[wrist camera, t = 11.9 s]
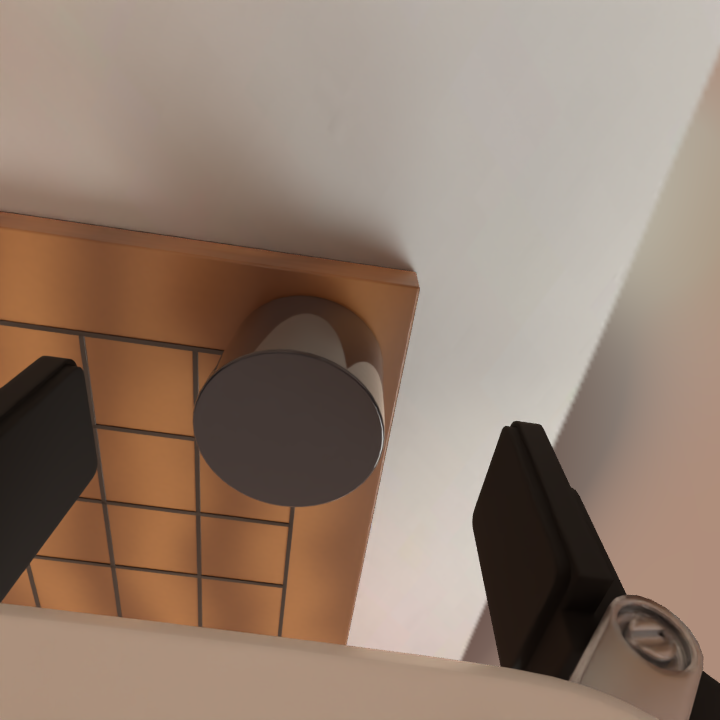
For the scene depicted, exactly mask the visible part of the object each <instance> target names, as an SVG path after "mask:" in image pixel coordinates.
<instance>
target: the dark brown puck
mask: <svg viewBox="0 0 720 720" xmlns="http://www.w3.org/2000/svg"><path fill="white" fill-rule="evenodd" d="M192 422H193V432H194V437H195V440H196V444H197V446H198V449H199V451H200V453H201V455H202V457H203V458H204V460H205V462H206V463H207V465H208V466H209V467H210V468H211V470H212V471H213V472H214V473H215V474H216V475H217V476H218V477H219V478H220V479H221V480H222V481H224V482H225V483H226V484H227V485H229V486H230V487H232V488H233V489H235V490H236V491H238V492H240V493H242V494H244V495H246V496H248V497H250V498H252V499H255V500H258V501H260V502H264V503H268V504H272V505H277V506H284V507H309V506H317V505H321V504H326V503H329V502H332V501H335V500H338V499H340V498H342V497H344V496H346V495H348V494H349V493H351V492H352V491H354V490H356V489H357V488H358V487H359V486H360V485H362V484H363V483H364V482H365V481H366V480H367V478H368V477H369V476H370V475H371V474H372V472H373V471H374V469H375V468H376V466H377V464H378V462H379V460H380V458H381V455H382V452H383V448H384V442H385V412H384V370H383V358H382V352H381V349H380V346H379V344H378V342H377V340H376V338H375V336H374V334H373V333H372V331H371V330H370V328H369V327H368V326H367V325H366V324H365V322H364V321H363V320H362V319H361V318H360V317H358V316H357V315H356V314H355V313H354V312H352V311H351V310H349V309H347V308H346V307H344V306H342V305H340V304H338V303H336V302H333V301H330V300H328V299H325V298H320V297H315V296H305V295H299V296H288V297H282V298H279V299H275V300H272V301H270V302H268V303H265V304H263V305H261V306H260V307H258V308H257V309H255V310H254V311H253V312H251V313H250V314H249V315H248V316H247V317H246V318H245V319H244V320H243V322H242V323H241V324H240V326H239V327H238V329H237V330H236V332H235V334H234V335H233V337H232V339H231V340H230V342H229V344H228V345H227V347H226V349H225V350H224V352H223V353H222V355H221V357H220V358H219V360H218V362H217V363H216V365H215V367H214V368H213V370H212V372H211V373H210V375H209V377H208V378H207V380H206V382H205V383H204V385H203V386H202V388H201V390H200V391H199V394H198V396H197V399H196V401H195V405H194V410H193V421H192Z"/></svg>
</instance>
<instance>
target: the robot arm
mask: <svg viewBox="0 0 720 720" xmlns="http://www.w3.org/2000/svg"><path fill="white" fill-rule="evenodd" d="M97 465H98V460H97V453H96V447H95V440H94V434H93V427H92V421H91V414H90V408H89V401H88V395H87V389H86V382H85V376H84V371H83V369H82V368H81V367H77V365H76V363H75V361H74V360H72V359H67V358H60V357H53V356H41V357H40V358H38V359H37V360H36V361H34V362H33V363H32V364H31V365H29V366H28V367H27V368H25V369H24V370H23V371H22V372H20V373H19V374H18V375H17V376H15V377H14V378H13V379H12V380H10V381H9V382H8V383H7V384H5V385H4V386H3V387H1V388H0V720H720V683H718V682H717V681H716V680H714V679H713V678H712V677H710V676H709V675H708V674H706V673H705V672H704V671H703V654H702V651H701V649H700V646H699V643H698V642H697V640H696V638H695V637H694V635H693V634H692V632H691V631H690V629H689V628H688V627H687V626H686V625H685V624H684V623H683V622H682V621H681V620H680V619H679V618H678V617H677V616H676V615H674V614H673V613H672V612H671V611H669V610H668V609H667V608H665V607H663V606H662V605H660V604H658V603H656V602H654V601H652V600H650V599H647V598H644V597H641V596H637V595H626V593H625V590H624V588H623V587H622V584H621V582H620V580H619V578H618V576H617V574H616V572H615V569H614V567H613V565H612V563H611V561H610V559H609V557H608V555H607V553H606V551H605V549H604V546H603V544H602V542H601V540H600V538H599V536H598V534H597V532H596V530H595V528H594V526H593V524H592V522H591V519H590V517H589V515H588V513H587V511H586V509H585V507H584V504H583V502H582V501H581V498H580V496H579V495H578V493H577V492H576V490H574V489H573V488H571V487H570V485H569V482H568V480H567V478H566V476H565V474H564V472H563V469H562V468H561V465H560V463H559V461H558V459H557V457H556V454H555V452H554V450H553V448H552V446H551V444H550V442H549V439H548V437H547V435H546V433H545V431H544V429H543V427H542V426H541V425H540V424H534V423H527V422H520V421H514V422H513V423H512V424H511V426H510V427H509V426H505V427H504V428H503V429H502V431H501V434H500V437H499V440H498V443H497V446H496V449H495V452H494V454H493V457H492V460H491V463H490V466H489V469H488V472H487V475H486V477H485V480H484V483H483V486H482V489H481V492H480V495H479V498H478V501H477V503H476V506H475V509H474V513H473V520H472V523H473V531H474V536H475V541H476V546H477V551H478V556H479V561H480V566H481V571H482V576H483V581H484V586H485V591H486V596H487V601H488V606H489V610H490V616H491V621H492V625H493V630H494V635H495V640H496V645H497V650H498V655H499V660H500V665H501V667H499V666H492V665H486V664H479V663H471V662H465V661H458V660H452V659H445V658H438V657H431V656H424V655H417V654H409V653H401V652H393V651H386V650H378V649H370V648H362V647H355V646H347V645H339V644H332V643H324V642H316V641H308V640H301V639H293V638H285V637H277V636H269V635H261V634H253V633H245V632H237V631H229V630H221V629H213V628H204V627H196V626H188V625H180V624H172V623H164V622H156V621H147V620H139V619H131V618H123V617H114V616H106V615H97V614H89V613H80V612H72V611H63V610H55V609H46V608H38V607H30V606H21V605H13V604H4V603H1V602H2V600H3V599H4V598H5V596H6V595H7V594H8V592H9V591H10V590H11V588H12V587H13V586H14V584H15V583H16V581H17V580H18V579H19V577H20V576H21V575H22V573H23V572H24V571H25V569H26V568H27V567H28V565H29V564H30V563H31V561H32V560H33V558H34V557H35V556H36V554H37V553H38V552H39V550H40V549H41V548H42V546H43V545H44V544H45V542H46V541H47V540H48V538H49V537H50V535H51V534H52V533H53V531H54V530H55V529H56V527H57V526H58V525H59V523H60V522H61V521H62V519H63V518H64V517H65V515H66V514H67V512H68V511H69V510H70V508H71V507H72V506H73V504H74V503H75V502H76V500H77V499H78V498H79V496H80V495H81V494H82V492H83V491H84V490H85V488H86V487H87V485H88V484H89V483H90V481H91V480H92V479H93V477H94V475H95V473H96V470H97Z"/></svg>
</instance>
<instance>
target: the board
mask: <svg viewBox="0 0 720 720" xmlns="http://www.w3.org/2000/svg"><path fill="white" fill-rule="evenodd" d="M419 291H420V287H419V283H418V279H417V274H416V272H413V271H406V270H399V269H392V268H385V267H378V266H371V265H364V264H357V263H351V262H344V261H337V260H330V259H323V258H316V257H309V256H302V255H296V254H289V253H282V252H275V251H268V250H261V249H254V248H247V247H240V246H234V245H227V244H220V243H213V242H206V241H199V240H192V239H185V238H178V237H172V236H165V235H158V234H151V233H144V232H137V231H130V230H123V229H116V228H110V227H103V226H96V225H89V224H82V223H75V222H68V221H61V220H54V219H48V218H41V217H34V216H27V215H20V214H13V213H6V212H0V388H1V387H3V386H4V385H5V384H7V383H8V382H9V381H10V380H12V379H13V378H14V377H15V376H17V375H18V374H19V373H20V372H22V371H23V370H24V369H25V368H27V367H28V366H29V365H31V364H32V363H33V362H34V361H36V360H37V359H38V358H40V357H41V356H53V357H60V358H67V359H72V360H74V361H75V363H76V365H77V367H81V368H82V369H83V371H84V376H85V382H86V389H87V395H88V401H89V408H90V414H91V421H92V427H93V434H94V440H95V447H96V453H97V460H98V465H97V470H96V473H95V475H94V477H93V479H92V480H91V481H90V483H89V484H88V485H87V487H86V488H85V490H84V491H83V492H82V494H81V495H80V496H79V498H78V499H77V500H76V502H75V503H74V504H73V506H72V507H71V508H70V510H69V511H68V512H67V514H66V515H65V517H64V518H63V519H62V521H61V522H60V523H59V525H58V526H57V527H56V529H55V530H54V531H53V533H52V534H51V535H50V537H49V538H48V540H47V541H46V542H45V544H44V545H43V546H42V548H41V549H40V550H39V552H38V553H37V554H36V556H35V557H34V558H33V560H32V561H31V563H30V564H29V565H28V567H27V568H26V569H25V571H24V572H23V573H22V575H21V576H20V577H19V579H18V580H17V581H16V583H15V584H14V586H13V587H12V588H11V590H10V591H9V592H8V594H7V595H6V596H5V598H4V599H3V600H2V602H1V603H4V604H13V605H21V606H30V607H38V608H46V609H55V610H63V611H72V612H80V613H89V614H97V615H106V616H114V617H123V618H131V619H139V620H147V621H156V622H164V623H172V624H180V625H188V626H196V627H204V628H213V629H221V630H229V631H237V632H245V633H253V634H261V635H269V636H277V637H285V638H293V639H301V640H308V641H316V642H324V643H332V644H339V645H346V644H347V639H348V635H349V630H350V625H351V620H352V615H353V610H354V605H355V601H356V596H357V591H358V586H359V581H360V576H361V572H362V567H363V562H364V557H365V552H366V547H367V543H368V538H369V533H370V528H371V523H372V518H373V514H374V509H375V504H376V499H377V494H378V489H379V484H380V480H381V475H382V470H383V465H384V460H385V455H386V451H387V446H388V441H389V436H390V431H391V426H392V422H393V417H394V412H395V407H396V402H397V397H398V393H399V388H400V383H401V378H402V373H403V368H404V363H405V359H406V354H407V349H408V344H409V339H410V334H411V330H412V325H413V320H414V315H415V310H416V305H417V301H418V296H419ZM299 295H305V296H315V297H320V298H325V299H328V300H330V301H333V302H336V303H338V304H340V305H342V306H344V307H346V308H347V309H349V310H351V311H352V312H354V313H355V314H356V315H357V316H358V317H360V318H361V319H362V320H363V321H364V322H365V324H366V325H367V326H368V327H369V328H370V330H371V331H372V333H373V334H374V336H375V338H376V340H377V342H378V344H379V346H380V349H381V352H382V358H383V370H384V412H385V442H384V448H383V452H382V455H381V458H380V460H379V462H378V464H377V466H376V468H375V469H374V471H373V472H372V474H371V475H370V476H369V477H368V478H367V480H366V481H365V482H364V483H363V484H362V485H360V486H359V487H358V488H357V489H356V490H354V491H352V492H351V493H349V494H348V495H346V496H344V497H342V498H340V499H338V500H335V501H332V502H329V503H326V504H321V505H317V506H309V507H284V506H277V505H272V504H268V503H264V502H260V501H258V500H255V499H252V498H250V497H248V496H246V495H244V494H242V493H240V492H238V491H236V490H235V489H233V488H232V487H230V486H229V485H227V484H226V483H225V482H224V481H222V480H221V479H220V478H219V477H218V476H217V475H216V474H215V473H214V472H213V471H212V470H211V468H210V467H209V466H208V465H207V463H206V462H205V460H204V458H203V457H202V455H201V453H200V451H199V449H198V446H197V444H196V440H195V437H194V432H193V422H192V421H193V410H194V405H195V401H196V399H197V396H198V394H199V391H200V390H201V388H202V386H203V385H204V383H205V382H206V380H207V378H208V377H209V375H210V373H211V372H212V370H213V368H214V367H215V365H216V363H217V362H218V360H219V358H220V357H221V355H222V353H223V352H224V350H225V349H226V347H227V345H228V344H229V342H230V340H231V339H232V337H233V335H234V334H235V332H236V330H237V329H238V327H239V326H240V324H241V323H242V322H243V320H244V319H245V318H246V317H247V316H248V315H249V314H250V313H251V312H253V311H254V310H255V309H257V308H258V307H260V306H261V305H263V304H265V303H268V302H270V301H272V300H275V299H279V298H282V297H288V296H299Z"/></svg>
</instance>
